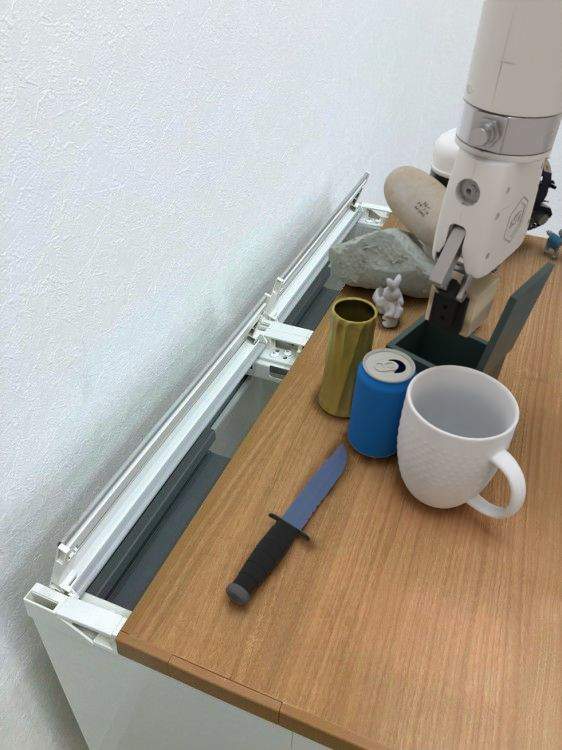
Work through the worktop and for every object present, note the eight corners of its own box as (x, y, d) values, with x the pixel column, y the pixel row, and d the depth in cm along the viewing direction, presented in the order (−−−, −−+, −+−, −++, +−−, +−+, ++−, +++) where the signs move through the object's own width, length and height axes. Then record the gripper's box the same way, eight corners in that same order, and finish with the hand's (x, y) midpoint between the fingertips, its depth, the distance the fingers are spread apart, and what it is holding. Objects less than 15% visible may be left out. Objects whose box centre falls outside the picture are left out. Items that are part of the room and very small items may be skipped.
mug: (535, 520, 66) (578, 435, 58) (465, 571, 61) (501, 486, 53) (435, 435, 75) (459, 351, 67) (366, 473, 70) (383, 388, 62)
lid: (509, 296, 62) (517, 300, 61) (548, 261, 67) (555, 264, 67) (468, 383, 70) (475, 387, 70) (506, 345, 76) (512, 349, 76)
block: (488, 317, 61) (500, 276, 58) (467, 338, 58) (478, 297, 55) (446, 299, 63) (456, 259, 60) (424, 318, 61) (433, 278, 58)
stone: (452, 142, 86) (472, 248, 86) (467, 153, 92) (485, 252, 92) (375, 171, 93) (393, 269, 93) (393, 179, 99) (410, 272, 99)
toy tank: (581, 272, 110) (643, 188, 101) (494, 257, 95) (557, 158, 87) (497, 210, 124) (544, 133, 115) (409, 189, 109) (457, 98, 101)
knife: (261, 608, 55) (215, 577, 56) (256, 620, 56) (212, 590, 58) (370, 450, 72) (333, 429, 73) (364, 463, 74) (328, 442, 75)
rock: (441, 303, 100) (435, 247, 103) (453, 264, 87) (446, 202, 90) (331, 311, 102) (328, 255, 104) (327, 274, 89) (324, 212, 91)
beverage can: (408, 459, 72) (428, 381, 65) (354, 464, 71) (368, 386, 64) (391, 420, 77) (408, 343, 69) (341, 424, 76) (352, 347, 68)
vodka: (398, 258, 107) (432, 71, 88) (444, 250, 110) (487, 68, 91) (424, 285, 101) (468, 91, 81) (473, 277, 104) (526, 87, 84)
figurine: (373, 303, 98) (383, 256, 94) (405, 312, 97) (418, 265, 92) (361, 323, 92) (372, 274, 87) (396, 333, 91) (408, 283, 86)
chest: (376, 391, 81) (385, 344, 76) (415, 358, 87) (426, 312, 82) (455, 435, 76) (470, 388, 70) (491, 397, 81) (508, 350, 76)
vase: (346, 425, 76) (360, 332, 67) (308, 401, 79) (316, 309, 70) (375, 401, 80) (392, 309, 70) (338, 379, 83) (349, 288, 73)
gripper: (505, 171, 42) (450, 375, 54) (591, 112, 52) (528, 295, 64) (409, 142, 46) (377, 340, 57) (507, 93, 56) (462, 269, 67)
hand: (457, 314), depth 61 cm, fingers closed on block, 4 cm apart
